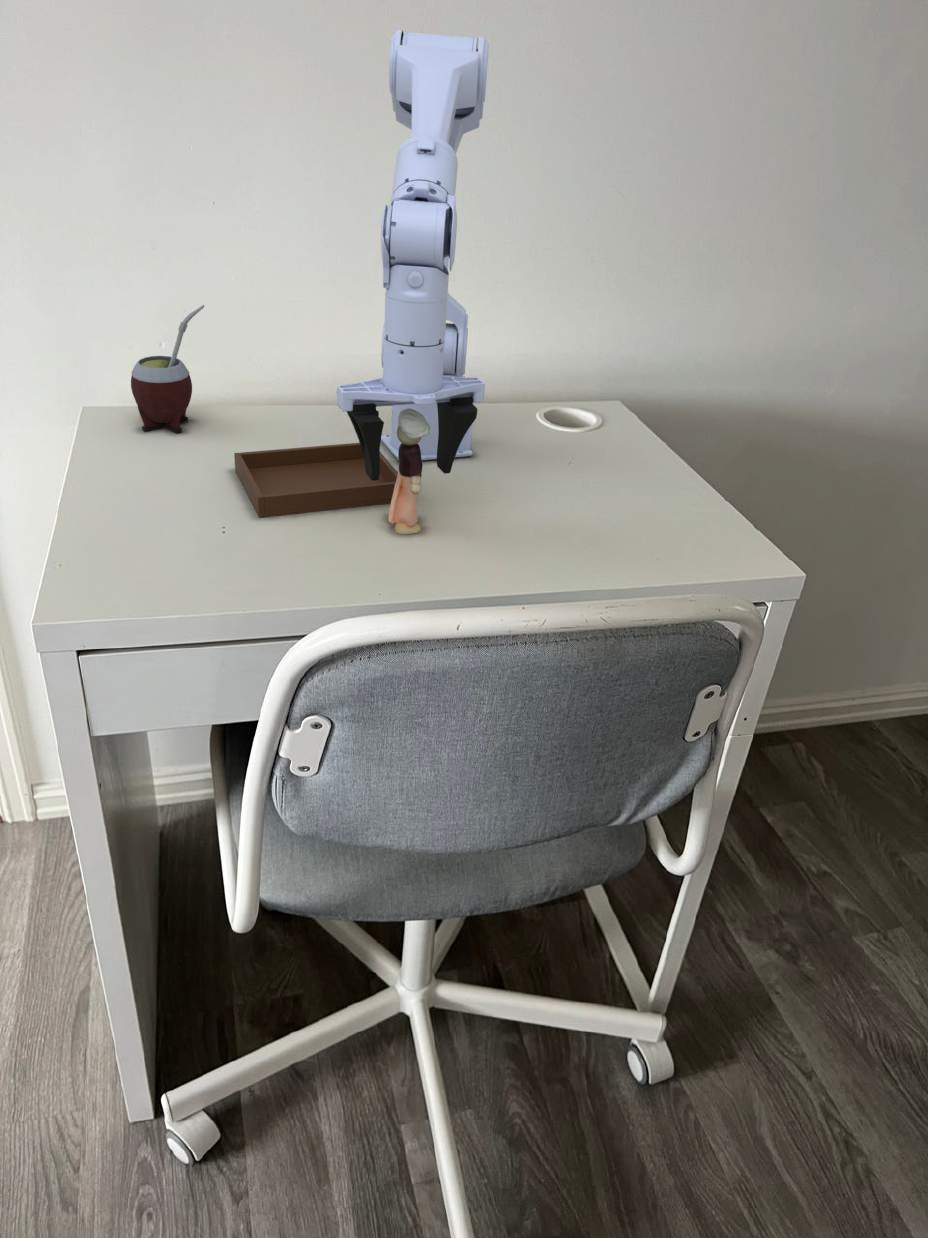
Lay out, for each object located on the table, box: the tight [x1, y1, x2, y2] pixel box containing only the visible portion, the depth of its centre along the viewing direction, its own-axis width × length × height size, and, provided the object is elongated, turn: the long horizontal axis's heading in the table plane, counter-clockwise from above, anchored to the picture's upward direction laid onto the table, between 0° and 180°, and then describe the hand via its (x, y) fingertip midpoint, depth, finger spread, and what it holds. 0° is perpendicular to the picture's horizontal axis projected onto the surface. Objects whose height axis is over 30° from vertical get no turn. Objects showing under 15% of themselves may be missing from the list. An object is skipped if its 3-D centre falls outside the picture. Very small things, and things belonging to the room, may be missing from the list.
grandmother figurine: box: [387, 408, 430, 535], centre depth 98 cm, size 8×4×13 cm, turn 21°
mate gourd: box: [130, 304, 205, 434], centre depth 117 cm, size 8×8×15 cm
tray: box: [233, 442, 398, 518], centre depth 108 cm, size 16×12×2 cm
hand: (408, 473), depth 98 cm, fingers open, 7 cm apart
